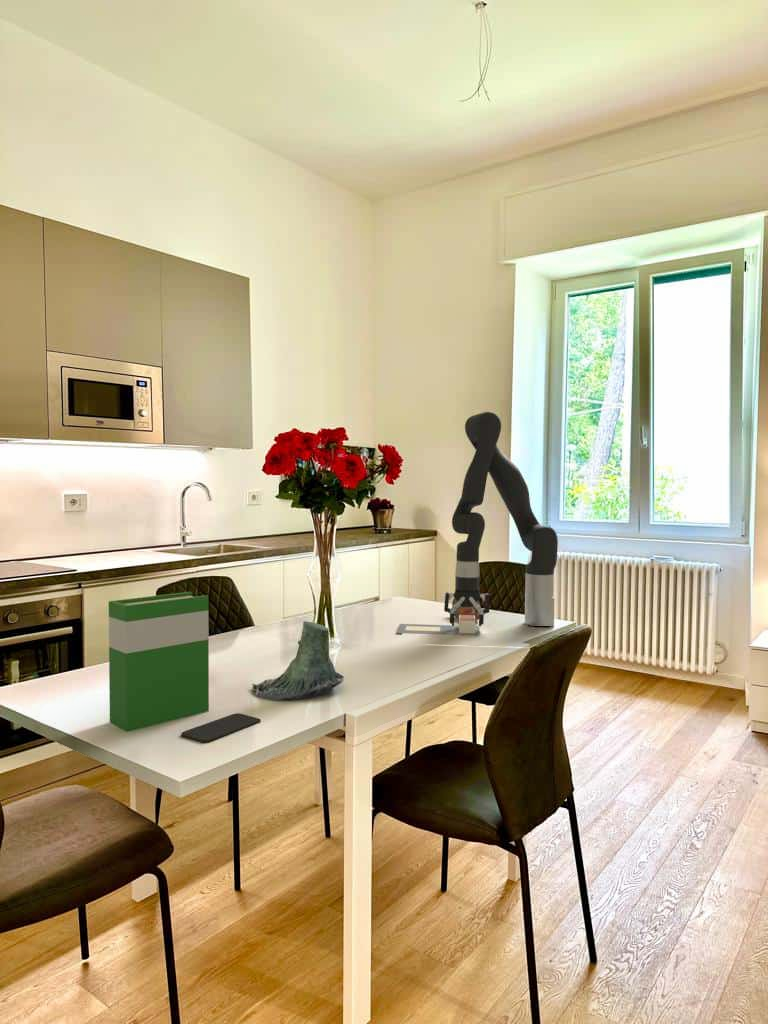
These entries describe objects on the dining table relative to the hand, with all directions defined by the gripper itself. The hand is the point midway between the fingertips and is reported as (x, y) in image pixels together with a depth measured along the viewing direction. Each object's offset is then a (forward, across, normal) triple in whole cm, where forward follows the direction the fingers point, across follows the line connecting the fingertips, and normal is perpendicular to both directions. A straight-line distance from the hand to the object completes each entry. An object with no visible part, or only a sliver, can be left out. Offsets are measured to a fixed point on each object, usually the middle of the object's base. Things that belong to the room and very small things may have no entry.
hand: (466, 625), depth 227 cm
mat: (+2, +9, 0) cm, 9 cm away
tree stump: (+3, +39, +68) cm, 78 cm away
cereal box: (+3, +62, +90) cm, 109 cm away
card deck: (+2, 0, 0) cm, 2 cm away
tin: (+2, 0, -19) cm, 19 cm away
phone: (+3, +47, +95) cm, 106 cm away
